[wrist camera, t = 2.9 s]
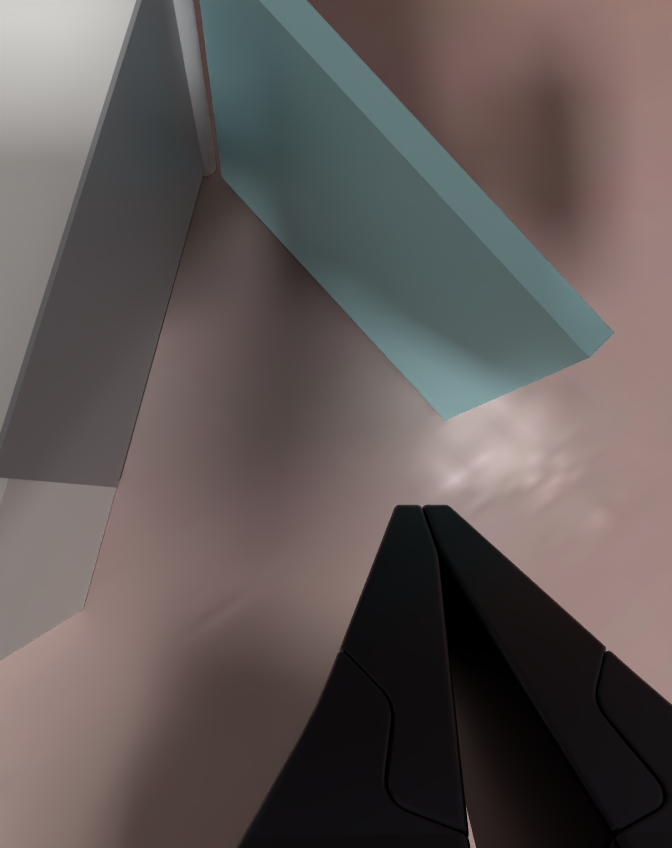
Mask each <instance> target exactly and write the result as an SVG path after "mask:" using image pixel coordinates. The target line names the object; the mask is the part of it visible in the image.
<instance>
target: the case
mask: <svg viewBox="0 0 672 848" xmlns="http://www.w3.org/2000/svg"><path fill="white" fill-rule="evenodd" d="M215 170H216V160H215V153H214V146H213V138H212V131H211V124H210V117H209V109H208V102H207V95H206V87H205V80H204V73H203V65H202V58H201V51H200V44H199V36H198V29H197V22H196V14H195V7H194V0H0V660H2V659H4V658H5V657H7V656H9V655H10V654H12V653H13V652H15V651H17V650H18V649H20V648H22V647H23V646H25V645H26V644H28V643H30V642H31V641H33V640H35V639H36V638H38V637H40V636H41V635H43V634H44V633H46V632H48V631H49V630H51V629H53V628H54V627H56V626H57V625H59V624H61V623H62V622H64V621H66V620H67V619H69V618H71V617H72V616H74V615H75V614H77V613H79V612H80V611H82V610H83V608H84V604H85V601H86V597H87V593H88V590H89V586H90V583H91V579H92V575H93V572H94V568H95V564H96V561H97V557H98V553H99V550H100V546H101V543H102V539H103V535H104V532H105V528H106V524H107V521H108V517H109V513H110V510H111V506H112V503H113V499H114V495H115V492H116V488H117V487H118V483H119V480H120V476H121V472H122V469H123V465H124V461H125V458H126V454H127V450H128V447H129V443H130V440H131V436H132V432H133V429H134V425H135V421H136V418H137V414H138V410H139V407H140V403H141V400H142V396H143V392H144V389H145V385H146V381H147V378H148V374H149V370H150V367H151V363H152V360H153V356H154V352H155V349H156V345H157V341H158V338H159V334H160V330H161V327H162V323H163V320H164V316H165V312H166V309H167V305H168V301H169V298H170V294H171V290H172V287H173V283H174V280H175V276H176V272H177V269H178V265H179V261H180V258H181V254H182V250H183V247H184V243H185V240H186V236H187V232H188V229H189V225H190V221H191V218H192V214H193V210H194V207H195V203H196V200H197V196H198V192H199V189H200V185H201V181H202V178H203V176H209V175H212V174H213V173H214V172H215Z"/></svg>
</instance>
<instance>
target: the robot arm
mask: <svg viewBox="0 0 672 848" xmlns="http://www.w3.org/2000/svg"><path fill="white" fill-rule="evenodd" d="M605 652H606V653H605ZM466 808H467V812H468V816H469V820H470V824H471V828H472V833H473V837H474V841H475V845H476V848H672V704H671V703H669V702H668V701H667V700H666V699H665V698H664V697H662V696H661V695H660V694H659V693H658V692H657V691H655V690H654V689H653V688H652V687H651V686H650V685H648V684H647V683H646V682H645V681H644V680H643V679H642V678H640V677H639V676H638V675H637V674H636V673H635V672H633V671H632V670H631V669H630V668H629V667H628V666H627V665H626V664H625V663H623V662H622V661H621V660H620V659H619V658H618V657H617V656H616V655H615V654H613V653H612V652H611V651H606V647H605V646H604V645H603V644H602V643H601V642H600V641H599V640H598V639H596V638H595V637H594V636H593V635H592V634H591V633H590V632H589V631H588V630H586V629H585V628H584V627H583V626H582V625H581V624H580V623H579V622H578V621H576V620H575V619H574V618H573V617H572V616H571V615H570V614H569V613H568V612H567V611H565V610H564V609H563V608H562V607H561V606H560V605H559V604H558V603H557V602H555V601H554V600H553V599H552V598H551V597H550V596H549V595H548V594H547V593H545V592H544V591H543V590H542V589H541V588H540V587H539V586H538V585H537V584H535V583H534V582H533V581H532V580H531V579H530V578H529V577H528V576H527V575H525V574H524V573H523V572H522V571H521V570H520V569H519V568H518V567H517V566H515V565H514V564H513V563H512V562H511V561H510V560H509V559H508V558H507V557H505V556H504V555H503V554H502V553H501V552H500V551H499V550H498V549H497V548H496V547H494V546H493V545H492V544H491V543H490V542H489V541H488V540H487V539H486V538H484V537H483V536H482V535H481V534H480V533H479V532H478V531H477V530H476V529H474V528H473V527H472V526H471V525H470V524H469V523H468V522H467V521H466V520H464V519H463V518H462V517H461V516H460V515H459V514H458V513H457V512H456V511H454V510H453V509H452V508H451V507H450V506H448V505H425V506H423V508H422V507H421V506H419V505H397V506H396V507H395V508H394V510H393V513H392V516H391V518H390V521H389V523H388V526H387V528H386V531H385V534H384V536H383V539H382V541H381V544H380V547H379V549H378V552H377V554H376V557H375V559H374V562H373V565H372V567H371V570H370V572H369V575H368V578H367V580H366V583H365V585H364V588H363V590H362V593H361V596H360V598H359V601H358V603H357V606H356V608H355V611H354V614H353V616H352V619H351V621H350V624H349V627H348V629H347V632H346V634H345V637H344V639H343V642H342V645H341V647H340V652H339V653H338V654H337V657H336V659H335V662H334V664H333V667H332V669H331V672H330V674H329V677H328V679H327V681H326V684H325V686H324V688H323V691H322V693H321V695H320V697H319V700H318V702H317V704H316V707H315V708H314V710H313V712H312V714H311V716H310V718H309V720H308V722H307V724H306V726H305V728H304V729H303V731H302V733H301V735H300V737H299V739H298V741H297V743H296V745H295V746H294V748H293V750H292V752H291V753H290V755H289V757H288V758H287V760H286V762H285V764H284V765H283V767H282V769H281V771H280V772H279V774H278V776H277V778H276V779H275V781H274V783H273V785H272V786H271V788H270V790H269V792H268V793H267V795H266V797H265V799H264V800H263V802H262V804H261V806H260V807H259V809H258V811H257V813H256V814H255V816H254V818H253V820H252V821H251V823H250V825H249V827H248V828H247V830H246V832H245V834H244V835H243V837H242V839H241V840H240V842H239V844H238V845H237V847H236V848H470V842H469V839H468V835H469V831H468V822H467V812H466Z"/></svg>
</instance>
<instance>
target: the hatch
mask: <svg viewBox="0 0 672 848" xmlns="http://www.w3.org/2000/svg"><path fill="white" fill-rule="evenodd" d="M199 1H200V9H201V17H202V25H203V33H204V41H205V49H206V57H207V65H208V73H209V81H210V89H211V97H212V105H213V113H214V121H215V129H216V137H217V145H218V153H219V161H220V169H221V177H222V178H223V179H224V180H225V181H226V182H227V184H228V185H229V186H230V187H231V188H232V189H233V190H234V191H235V192H236V193H237V194H238V196H239V197H240V198H241V199H242V200H243V201H244V202H245V203H246V204H247V205H248V206H249V208H250V209H251V210H252V211H253V212H254V213H255V214H256V215H257V216H258V217H259V218H260V219H261V221H262V222H263V223H264V224H265V225H266V226H267V227H268V228H269V229H270V230H271V231H272V233H273V234H274V235H275V236H276V237H277V238H278V239H279V240H280V241H281V242H282V243H283V245H284V246H285V247H286V248H287V249H288V250H289V251H290V252H291V253H292V254H293V255H294V257H295V258H296V259H297V260H298V261H299V262H300V263H301V264H302V265H303V266H304V267H305V268H306V270H307V271H308V272H309V273H310V274H311V275H312V276H313V277H314V278H315V279H316V280H317V282H318V283H319V284H320V285H321V286H322V287H323V288H324V289H325V290H326V291H327V292H328V294H329V295H330V296H331V297H332V298H333V299H334V300H335V301H336V302H337V303H338V304H339V306H340V307H341V308H342V309H343V310H344V311H345V312H346V313H347V314H348V315H349V316H350V317H351V319H352V320H353V321H354V322H355V323H356V324H357V325H358V326H359V327H360V328H361V329H362V331H363V332H364V333H365V334H366V335H367V336H368V337H369V338H370V339H371V340H372V341H373V343H374V344H375V345H376V346H377V347H378V348H379V349H380V350H381V351H382V352H383V353H384V354H385V356H386V357H387V358H388V359H389V360H390V361H391V362H392V363H393V364H394V365H395V366H396V368H397V369H398V370H399V371H400V372H401V373H402V374H403V375H404V376H405V377H406V378H407V380H408V381H409V382H410V383H411V384H412V385H413V386H414V387H415V388H416V389H417V390H418V392H419V393H420V394H421V395H422V396H423V397H424V398H425V399H426V400H427V401H428V402H429V403H430V405H431V406H432V407H433V408H434V409H435V410H436V411H437V412H438V413H439V414H440V415H441V417H442V418H443V419H444V420H447V419H449V418H451V417H454V416H456V415H458V414H461V413H463V412H465V411H467V410H470V409H472V408H474V407H477V406H479V405H481V404H483V403H486V402H488V401H490V400H493V399H495V398H497V397H500V396H502V395H504V394H506V393H509V392H511V391H513V390H516V389H518V388H520V387H522V386H525V385H527V384H529V383H532V382H534V381H536V380H539V379H541V378H543V377H545V376H548V375H550V374H552V373H555V372H557V371H559V370H561V369H564V368H566V367H568V366H571V365H573V364H575V363H577V362H580V361H582V360H584V359H587V358H589V357H590V356H591V355H592V354H593V353H594V352H595V351H596V350H597V349H598V348H599V347H600V346H601V345H602V344H603V343H604V342H605V341H606V340H607V339H608V338H609V337H610V336H611V335H612V334H613V333H614V332H613V331H612V329H611V328H610V327H609V326H608V325H607V324H606V323H605V322H604V321H603V320H602V319H601V318H600V317H599V315H598V314H597V313H596V312H595V311H594V310H593V309H592V308H591V307H590V306H589V305H588V304H587V302H586V301H585V300H584V299H583V298H582V297H581V296H580V295H579V294H578V293H577V292H576V291H575V289H574V288H573V287H572V286H571V285H570V284H569V283H568V282H567V281H566V280H565V279H564V278H563V277H562V275H561V274H560V273H559V272H558V271H557V270H556V269H555V268H554V267H553V266H552V265H551V264H550V262H549V261H548V260H547V259H546V258H545V257H544V256H543V255H542V254H541V253H540V252H539V251H538V250H537V248H536V247H535V246H534V245H533V244H532V243H531V242H530V241H529V240H528V239H527V238H526V237H525V235H524V234H523V233H522V232H521V231H520V230H519V229H518V228H517V227H516V226H515V225H514V224H513V222H512V221H511V220H510V219H509V218H508V217H507V216H506V215H505V214H504V213H503V212H502V211H501V210H500V208H499V207H498V206H497V205H496V204H495V203H494V202H493V201H492V200H491V199H490V198H489V197H488V195H487V194H486V193H485V192H484V191H483V190H482V189H481V188H480V187H479V186H478V185H477V184H476V182H475V181H474V180H473V179H472V178H471V177H470V176H469V175H468V174H467V173H466V172H465V171H464V170H463V168H462V167H461V166H460V165H459V164H458V163H457V162H456V161H455V160H454V159H453V158H452V157H451V155H450V154H449V153H448V152H447V151H446V150H445V149H444V148H443V147H442V146H441V145H440V144H439V143H438V141H437V140H436V139H435V138H434V137H433V136H432V135H431V134H430V133H429V132H428V131H427V130H426V128H425V127H424V126H423V125H422V124H421V123H420V122H419V121H418V120H417V119H416V118H415V117H414V115H413V114H412V113H411V112H410V111H409V110H408V109H407V108H406V107H405V106H404V105H403V104H402V103H401V101H400V100H399V99H398V98H397V97H396V96H395V95H394V94H393V93H392V92H391V91H390V90H389V88H388V87H387V86H386V85H385V84H384V83H383V82H382V81H381V80H380V79H379V78H378V77H377V75H376V74H375V73H374V72H373V71H372V70H371V69H370V68H369V67H368V66H367V65H366V64H365V63H364V61H363V60H362V59H361V58H360V57H359V56H358V55H357V54H356V53H355V52H354V51H353V50H352V48H351V47H350V46H349V45H348V44H347V43H346V42H345V41H344V40H343V39H342V38H341V37H340V36H339V34H338V33H337V32H336V31H335V30H334V29H333V28H332V27H331V26H330V25H329V24H328V23H327V21H326V20H325V19H324V18H323V17H322V16H321V15H320V14H319V13H318V12H317V11H316V10H315V8H314V7H313V6H312V5H311V4H310V3H309V2H308V1H307V0H199Z"/></svg>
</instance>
